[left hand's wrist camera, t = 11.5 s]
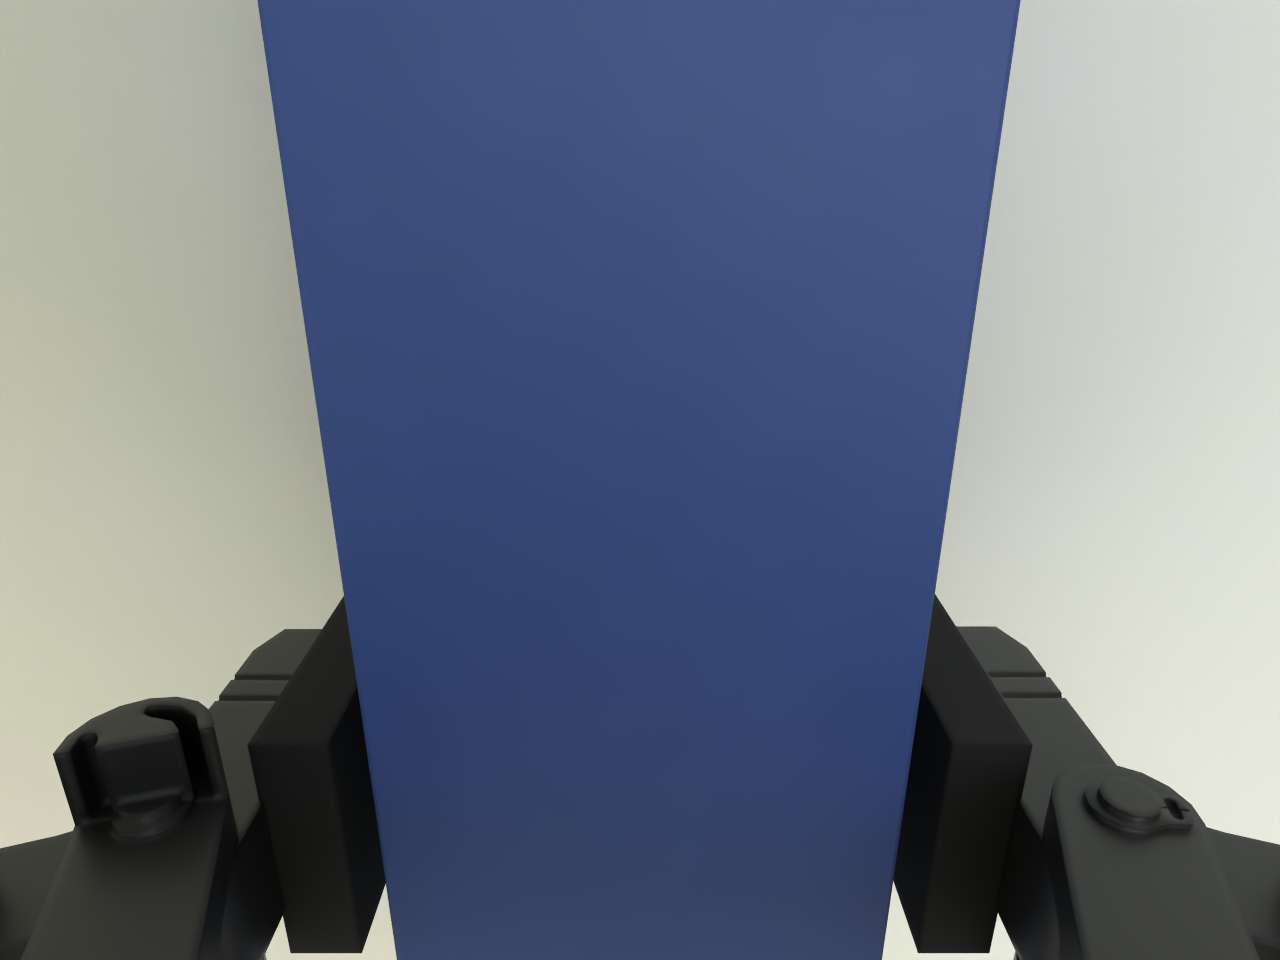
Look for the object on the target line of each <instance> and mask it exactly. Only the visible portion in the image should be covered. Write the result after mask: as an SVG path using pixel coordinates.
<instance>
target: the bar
mask: <svg viewBox="0 0 1280 960" xmlns="http://www.w3.org/2000/svg"><path fill="white" fill-rule="evenodd" d="M258 6H259V13H260V20H261V27H262V34H263V41H264V48H265V55H266V61H267V68H268V75H269V82H270V89H271V96H272V103H273V110H274V116H275V123H276V130H277V137H278V144H279V151H280V158H281V165H282V171H283V178H284V185H285V192H286V199H287V206H288V213H289V220H290V226H291V233H292V240H293V247H294V254H295V261H296V268H297V275H298V282H299V288H300V295H301V302H302V309H303V316H304V323H305V330H306V337H307V343H308V350H309V357H310V364H311V371H312V378H313V385H314V392H315V398H316V405H317V412H318V419H319V426H320V433H321V440H322V447H323V453H324V460H325V467H326V474H327V481H328V488H329V495H330V502H331V509H332V515H333V522H334V529H335V536H336V543H337V550H338V557H339V564H340V570H341V577H342V584H343V591H344V598H345V605H346V612H347V619H348V625H349V632H350V639H351V646H352V653H353V660H354V667H355V674H356V680H357V687H358V694H359V701H360V708H361V715H362V722H363V729H364V736H365V742H366V749H367V756H368V763H369V770H370V777H371V784H372V791H373V797H374V804H375V811H376V818H377V825H378V832H379V839H380V846H381V852H382V859H383V866H384V873H385V880H386V887H387V894H388V901H389V907H390V914H391V921H392V928H393V935H394V942H395V949H396V956H397V960H882V954H883V947H884V940H885V933H886V926H887V920H888V913H889V906H890V899H891V892H892V885H893V878H894V871H895V864H896V857H897V850H898V843H899V837H900V830H901V823H902V816H903V809H904V802H905V795H906V788H907V781H908V774H909V767H910V760H911V754H912V747H913V740H914V733H915V726H916V719H917V712H918V705H919V698H920V691H921V684H922V677H923V670H924V664H925V657H926V650H927V643H928V636H929V629H930V622H931V615H932V608H933V601H934V594H935V587H936V581H937V574H938V567H939V560H940V553H941V546H942V539H943V532H944V525H945V518H946V511H947V504H948V498H949V491H950V484H951V477H952V470H953V463H954V456H955V449H956V442H957V435H958V428H959V421H960V415H961V408H962V401H963V394H964V387H965V380H966V373H967V366H968V359H969V352H970V345H971V338H972V332H973V325H974V318H975V311H976V304H977V297H978V290H979V283H980V276H981V269H982V262H983V255H984V249H985V242H986V235H987V228H988V221H989V214H990V207H991V200H992V193H993V186H994V179H995V172H996V165H997V159H998V152H999V145H1000V138H1001V131H1002V124H1003V117H1004V110H1005V103H1006V96H1007V89H1008V82H1009V76H1010V69H1011V62H1012V55H1013V48H1014V41H1015V34H1016V27H1017V20H1018V13H1019V6H1020V0H258Z"/></svg>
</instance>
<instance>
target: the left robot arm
mask: <svg viewBox="0 0 1280 960" xmlns="http://www.w3.org/2000/svg"><path fill="white" fill-rule="evenodd" d="M53 756H54V759H55V762H56V766H57V769H58V772H59V775H60V778H61V782H62V785H63V788H64V791H65V794H66V798H67V801H68V804H69V807H70V810H71V813H72V817H73V820H74V823H75V827H74V830H73V831H72V832H68V833H65V834H61V835H58V836H54V837H49V838H45V839H41V840H36V841H32V842H27V843H23V844H18V845H14V846H9V847H5V848H0V960H266V955H265V953H266V950H267V948H268V946H269V944H270V942H271V940H272V937H273V935H274V933H275V931H276V929H277V927H278V924H279V922H280V920H281V918H282V916H283V918H284V923H285V928H286V933H287V937H288V942H289V947H290V952H291V953H362V951H363V948H364V945H365V942H366V939H367V936H368V933H369V931H370V928H371V925H372V922H373V919H374V916H375V913H376V910H377V907H378V904H379V901H380V898H381V895H382V893H383V890H384V887H385V884H386V880H385V873H384V866H383V859H382V852H381V846H380V839H379V832H378V825H377V818H376V811H375V804H374V797H373V791H372V784H371V777H370V770H369V763H368V756H367V749H366V742H365V736H364V729H363V722H362V715H361V708H360V701H359V694H358V687H357V680H356V674H355V667H354V660H353V653H352V646H351V639H350V632H349V625H348V619H347V612H346V605H345V598H344V597H343V598H342V600H341V601H340V603H339V604H338V606H337V607H336V609H335V610H334V612H333V613H332V615H331V617H330V618H329V620H328V621H327V623H326V624H325V626H324V627H323V629H285V630H283V631H282V632H280V633H279V634H277V635H276V636H274V637H273V638H271V639H270V640H268V641H267V642H265V643H264V644H262V645H261V646H259V647H258V648H256V649H255V650H254V651H253V652H252V653H251V654H250V656H249V657H248V658H247V660H246V661H245V662H244V664H243V665H242V666H241V668H240V669H239V670H238V672H237V673H236V674H235V680H231V681H230V682H229V684H228V685H227V686H226V688H225V689H224V690H223V692H222V693H221V694H220V695H219V701H215V702H214V703H213V705H212V706H211V707H210V709H209V710H208V709H207V708H206V707H205V706H203V705H202V704H201V703H200V702H198V701H194V700H189V699H185V698H180V697H167V698H150V699H146V700H142V701H138V702H134V703H130V704H126V705H123V706H119V707H117V708H115V709H113V710H110V711H108V712H106V713H104V714H101V715H99V716H97V717H95V718H92V719H91V720H89V721H88V722H86V723H85V724H84V725H82V726H81V727H79V728H78V729H76V730H75V731H74V732H72V733H71V734H69V735H68V736H67V737H66V738H65V740H64V741H63V742H62V743H61V745H60V746H59V747H58V748H57V750H56V751H55V752H54V753H53ZM893 881H894V884H895V887H896V890H897V892H898V895H899V898H900V901H901V904H902V907H903V910H904V913H905V916H906V919H907V922H908V925H909V928H910V931H911V933H912V936H913V939H914V942H915V945H916V948H917V951H918V953H989V952H990V947H991V942H992V937H993V933H994V928H995V923H996V918H997V914H999V916H1000V918H1001V920H1002V922H1003V924H1004V927H1005V929H1006V931H1007V933H1008V935H1009V937H1010V939H1011V942H1012V944H1013V946H1014V948H1015V950H1016V951H1015V955H1014V960H1280V845H1278V844H1274V843H1269V842H1265V841H1260V840H1256V839H1251V838H1247V837H1242V836H1238V835H1233V834H1229V833H1225V832H1221V831H1218V830H1214V829H1211V828H1207V827H1206V826H1205V824H1204V822H1203V821H1202V819H1201V818H1200V816H1199V815H1198V813H1197V812H1196V811H1195V809H1194V808H1193V806H1192V805H1191V804H1190V803H1189V802H1188V801H1186V800H1185V799H1184V798H1183V797H1181V796H1180V795H1179V794H1178V793H1176V792H1175V791H1174V790H1173V789H1171V788H1170V787H1169V786H1167V785H1165V784H1163V783H1161V782H1159V781H1157V780H1155V779H1153V778H1151V777H1149V776H1147V775H1145V774H1143V773H1141V772H1137V771H1134V770H1130V769H1127V768H1123V767H1120V766H1117V765H1116V764H1115V763H1114V761H1113V760H1112V759H1111V757H1110V756H1109V755H1108V753H1107V752H1106V751H1105V749H1104V748H1103V747H1102V746H1101V744H1100V743H1099V742H1098V740H1097V739H1096V738H1095V736H1094V735H1093V734H1092V732H1091V731H1090V730H1089V728H1088V727H1087V726H1086V725H1085V723H1084V722H1083V721H1082V719H1081V718H1080V717H1079V715H1078V714H1077V713H1076V711H1075V710H1074V709H1073V707H1072V706H1071V705H1070V704H1069V702H1068V701H1067V700H1066V698H1062V696H1061V692H1060V690H1059V689H1058V688H1057V686H1056V685H1055V684H1054V683H1053V681H1052V680H1051V679H1050V677H1046V672H1045V671H1044V669H1043V668H1042V667H1041V665H1040V664H1039V663H1038V662H1037V660H1036V659H1035V658H1034V656H1033V655H1032V654H1031V652H1030V651H1029V650H1028V648H1027V647H1025V646H1024V645H1022V644H1021V643H1019V642H1018V641H1016V640H1015V639H1013V638H1012V637H1010V636H1009V635H1007V634H1006V633H1004V632H1003V631H1001V630H1000V629H998V628H997V627H956V626H955V624H954V623H953V621H952V620H951V618H950V617H949V615H948V613H947V612H946V610H945V609H944V607H943V606H942V604H941V603H940V601H939V600H938V598H937V596H936V595H935V594H934V601H933V608H932V615H931V622H930V629H929V636H928V643H927V650H926V657H925V664H924V670H923V677H922V684H921V691H920V698H919V705H918V712H917V719H916V726H915V733H914V740H913V747H912V754H911V760H910V767H909V774H908V781H907V788H906V795H905V802H904V809H903V816H902V823H901V830H900V837H899V843H898V850H897V857H896V864H895V871H894V878H893Z"/></svg>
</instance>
